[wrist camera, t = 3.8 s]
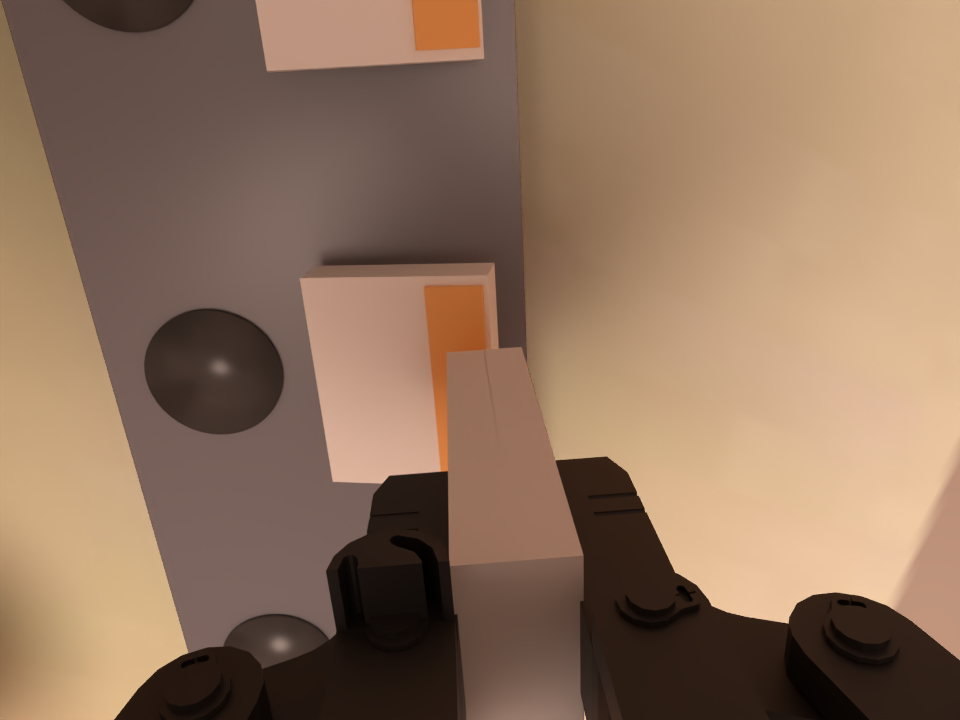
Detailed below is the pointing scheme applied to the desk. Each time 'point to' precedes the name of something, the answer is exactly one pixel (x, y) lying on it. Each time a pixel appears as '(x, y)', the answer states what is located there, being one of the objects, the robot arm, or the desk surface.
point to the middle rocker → (392, 359)
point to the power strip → (254, 265)
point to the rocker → (368, 33)
